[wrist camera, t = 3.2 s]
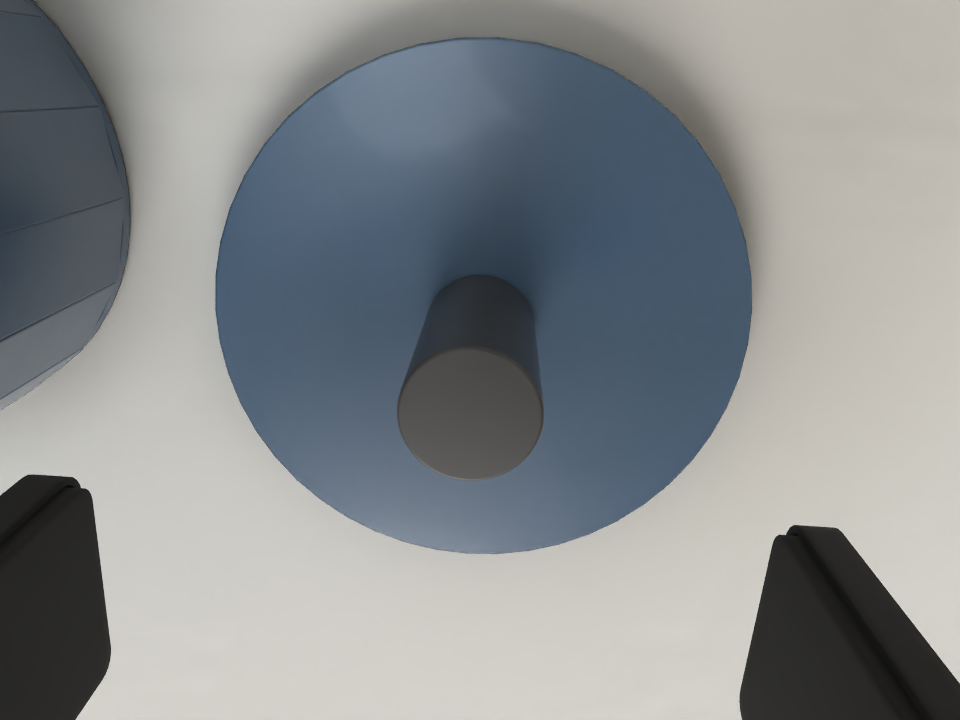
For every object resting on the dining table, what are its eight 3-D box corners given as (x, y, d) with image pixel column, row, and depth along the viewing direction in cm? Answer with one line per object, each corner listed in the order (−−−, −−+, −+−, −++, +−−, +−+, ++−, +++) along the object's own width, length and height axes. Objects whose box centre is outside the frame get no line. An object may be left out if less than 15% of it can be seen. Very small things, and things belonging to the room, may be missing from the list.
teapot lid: (851, 245, 21) (1013, 322, 14) (544, 607, 26) (557, 795, 19) (396, -87, 19) (332, -183, 12) (146, 377, 23) (-3, 499, 16)
